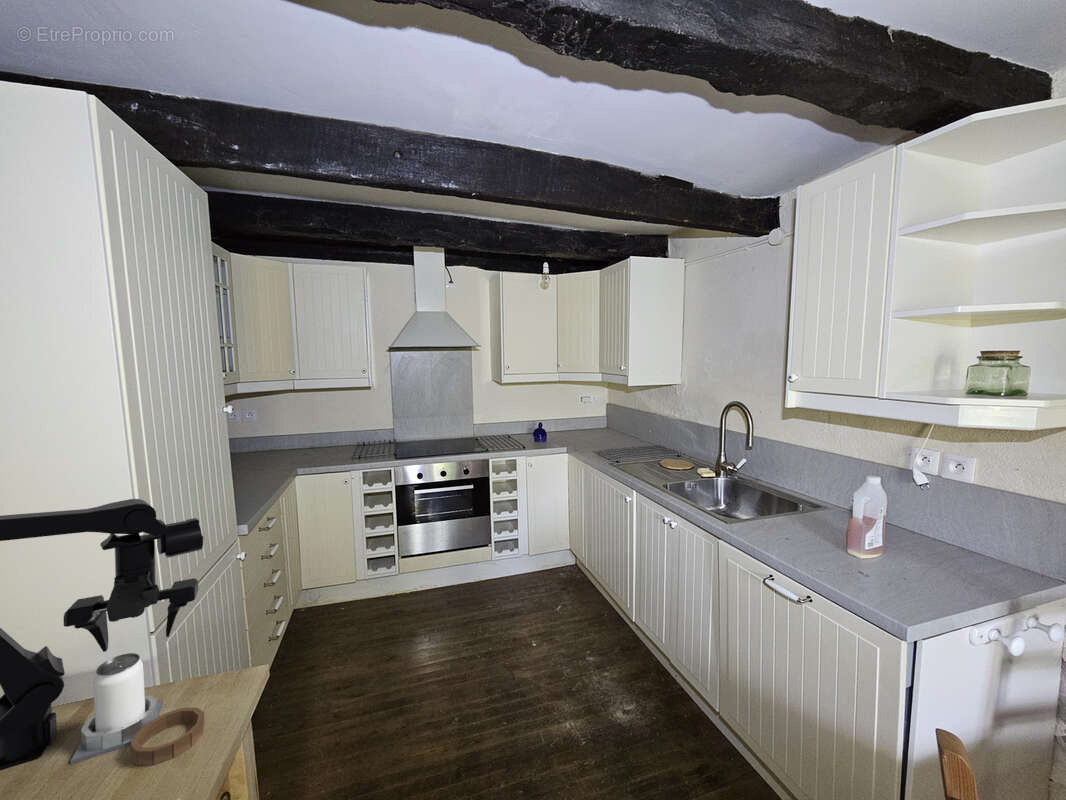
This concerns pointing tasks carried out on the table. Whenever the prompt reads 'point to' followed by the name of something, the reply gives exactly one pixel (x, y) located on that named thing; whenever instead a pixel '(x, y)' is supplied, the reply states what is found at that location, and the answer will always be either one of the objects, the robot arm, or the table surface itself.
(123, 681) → the can
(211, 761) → the table surface
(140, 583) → the robot arm
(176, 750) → the brown segmented ring
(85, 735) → the dock
